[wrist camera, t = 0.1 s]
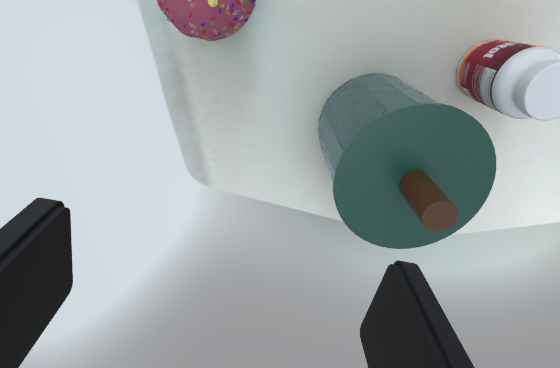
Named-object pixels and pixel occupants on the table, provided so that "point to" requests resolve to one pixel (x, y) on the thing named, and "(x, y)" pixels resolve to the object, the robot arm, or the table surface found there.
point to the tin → (360, 110)
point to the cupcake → (207, 16)
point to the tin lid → (414, 175)
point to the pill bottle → (512, 78)
